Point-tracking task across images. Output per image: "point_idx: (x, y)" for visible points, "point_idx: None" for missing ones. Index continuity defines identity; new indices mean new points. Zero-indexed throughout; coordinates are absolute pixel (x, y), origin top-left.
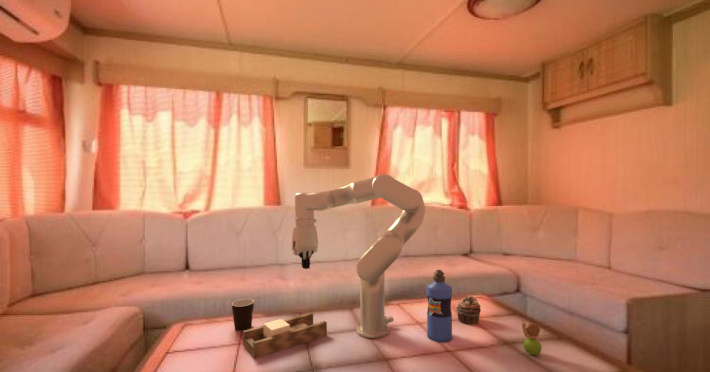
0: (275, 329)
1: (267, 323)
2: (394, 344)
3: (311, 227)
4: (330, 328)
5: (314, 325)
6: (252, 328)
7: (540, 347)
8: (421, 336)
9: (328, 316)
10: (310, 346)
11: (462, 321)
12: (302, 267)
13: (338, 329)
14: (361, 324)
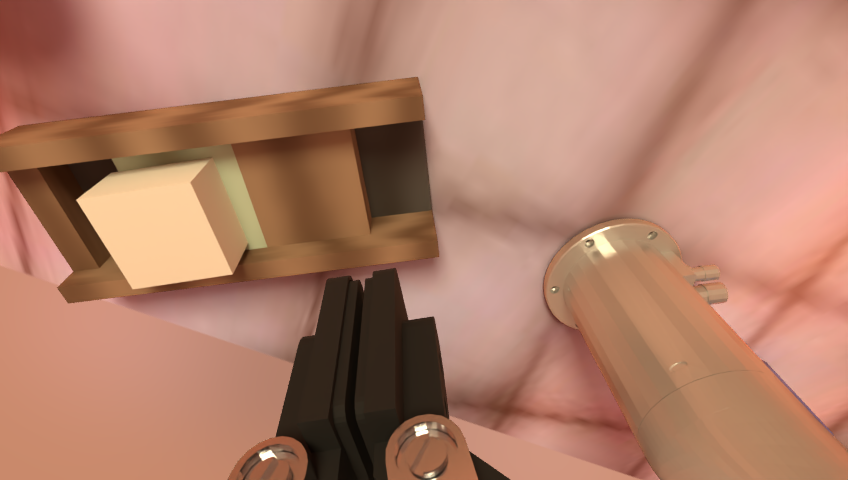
0: (153, 285)
1: (101, 207)
2: (588, 368)
3: None
4: (482, 169)
5: (370, 261)
6: (18, 145)
7: None
8: None
9: (565, 9)
10: (334, 272)
11: None
12: (329, 285)
13: (508, 197)
14: (574, 296)
